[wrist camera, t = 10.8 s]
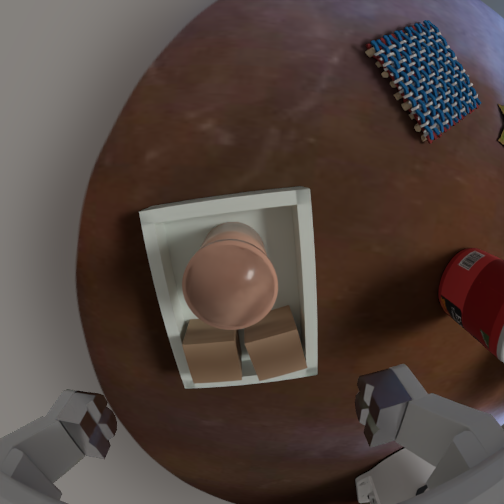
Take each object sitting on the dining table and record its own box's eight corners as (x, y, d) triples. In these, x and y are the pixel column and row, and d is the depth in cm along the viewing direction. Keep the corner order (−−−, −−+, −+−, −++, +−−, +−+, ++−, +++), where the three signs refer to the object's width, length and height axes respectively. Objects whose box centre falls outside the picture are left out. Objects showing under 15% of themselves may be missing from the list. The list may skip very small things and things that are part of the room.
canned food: (425, 305, 26) (488, 362, 15) (456, 235, 24) (533, 270, 13) (463, 318, 27) (519, 366, 16) (491, 257, 25) (556, 291, 14)
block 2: (299, 341, 25) (307, 368, 21) (257, 353, 26) (259, 381, 22) (288, 304, 24) (297, 328, 20) (243, 317, 24) (244, 343, 21)
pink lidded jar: (263, 214, 22) (273, 235, 15) (270, 280, 24) (281, 324, 17) (193, 223, 22) (173, 248, 15) (205, 288, 24) (192, 333, 17)
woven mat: (419, 148, 22) (432, 148, 20) (357, 49, 19) (365, 42, 17) (475, 108, 20) (487, 106, 18) (423, 22, 18) (433, 16, 16)
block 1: (241, 352, 25) (242, 380, 22) (199, 355, 25) (193, 383, 22) (235, 314, 24) (234, 340, 20) (189, 319, 24) (181, 344, 20)
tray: (310, 355, 27) (317, 374, 24) (189, 368, 27) (185, 388, 24) (301, 186, 22) (309, 188, 19) (151, 206, 22) (138, 211, 19)
